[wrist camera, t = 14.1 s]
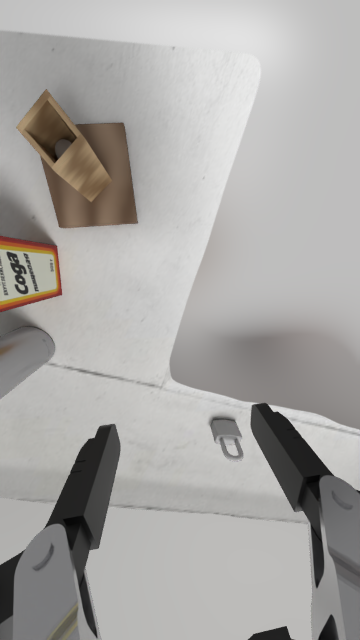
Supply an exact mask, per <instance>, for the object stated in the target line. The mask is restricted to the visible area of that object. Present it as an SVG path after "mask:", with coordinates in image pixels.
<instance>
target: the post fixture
mask: <svg viewBox="0 0 360 640" xmlns="http://www.w3.org/2000/svg"><path fill="white" fill-rule="evenodd" d="M75 126H76V128H77V129H78V130H79V131H80V133H81V134H82V135H83V137H84V138H85V139H86V141H87V142H88V144H89V145H90V147H91V148H92V150H93V152H94V153H95V155H96V156H97V158H98V159H99V161H100V162H101V164H102V166H103V167H104V169H105V170H106V172H107V173H108V175H109V176H110V178H111V180H112V181H111V182H110V183H109V184H108V185H107V186H106V187H105V188H104V189H103V190H102V192H101V193H100V194H99V195H98V196H97V197H96V198H95V199H94V200H93V201H92V202H90V201H89V200H88V199H87V198H86V197H84V196H83V195H82V194H81V193H80V192H78V191H77V190H76V189H75V188H74V187H72V186H71V185H70V184H69V183H68V182H66V181H65V180H64V179H63V178H62V177H60V176H59V175H58V174H57V173H56V172H55V171H54V170H53V169H52V168H51V167H50V166H49V164H48V163H47V162H46V161H45V160H44V159H43V158H42V156H41V155H40V156H41V160H42V164H43V168H44V171H45V175H46V179H47V183H48V186H49V190H50V194H51V197H52V201H53V205H54V209H55V212H56V216H57V220H58V224H59V227H61V228H74V227H89V226H104V225H120V224H135V223H138V221H137V214H136V206H135V199H134V192H133V184H132V177H131V169H130V162H129V155H128V147H127V140H126V133H125V127H124V123H104V124H78V125H75ZM71 144H72V143H71V142H70V141H68V140H66V139H61V140H59V141H58V142H57V143H56V145H55V152H56V155H57V157H58V159H59V158H60V157H61V156H62V155H63V154H64V152H65V151H66V150H67V149H68V148H69V147H70V145H71Z"/></svg>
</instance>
